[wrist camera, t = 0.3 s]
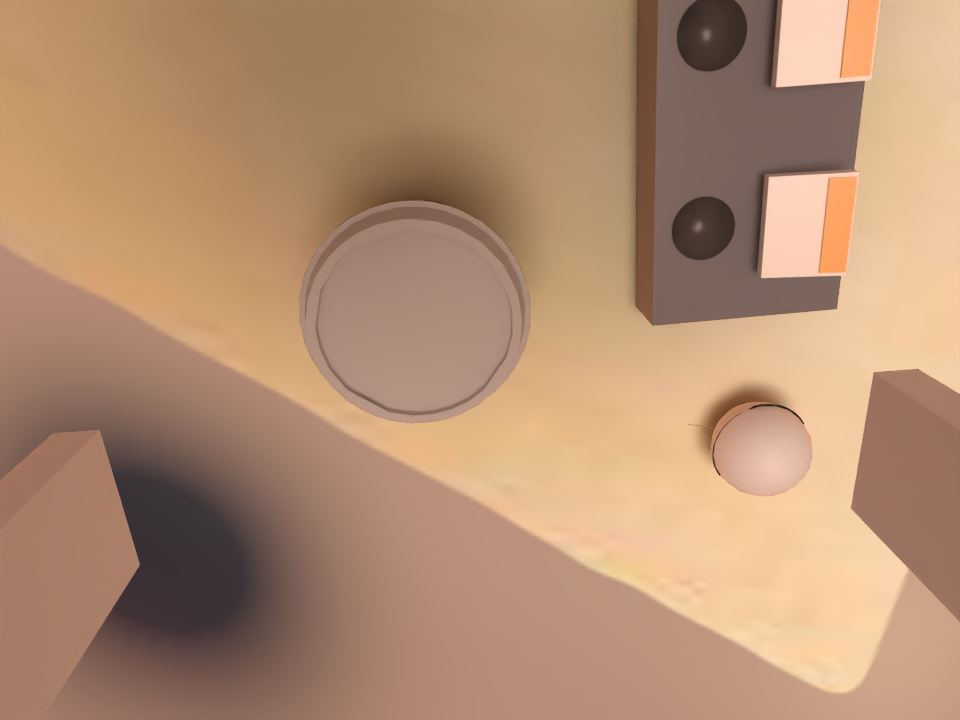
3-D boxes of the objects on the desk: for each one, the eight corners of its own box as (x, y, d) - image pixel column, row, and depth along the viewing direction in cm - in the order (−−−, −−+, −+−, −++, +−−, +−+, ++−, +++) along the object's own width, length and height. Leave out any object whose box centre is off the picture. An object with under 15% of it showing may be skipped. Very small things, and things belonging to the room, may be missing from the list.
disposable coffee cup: (524, 188, 37) (559, 232, 26) (488, 349, 41) (505, 449, 30) (349, 152, 36) (307, 182, 25) (326, 321, 40) (281, 414, 28)
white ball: (804, 411, 43) (853, 456, 38) (746, 479, 45) (785, 530, 40) (710, 353, 42) (749, 392, 36) (653, 425, 43) (682, 472, 38)
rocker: (764, 174, 34) (769, 177, 33) (852, 169, 33) (860, 172, 32) (757, 272, 36) (761, 278, 35) (839, 270, 35) (847, 276, 34)
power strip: (640, -315, 30) (665, -366, 26) (869, -332, 30) (923, -385, 26) (635, 305, 40) (653, 326, 37) (805, 290, 40) (838, 309, 37)
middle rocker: (780, -34, 31) (786, -38, 29) (878, -45, 30) (888, -49, 29) (771, 87, 32) (776, 87, 31) (863, 79, 32) (871, 80, 31)
